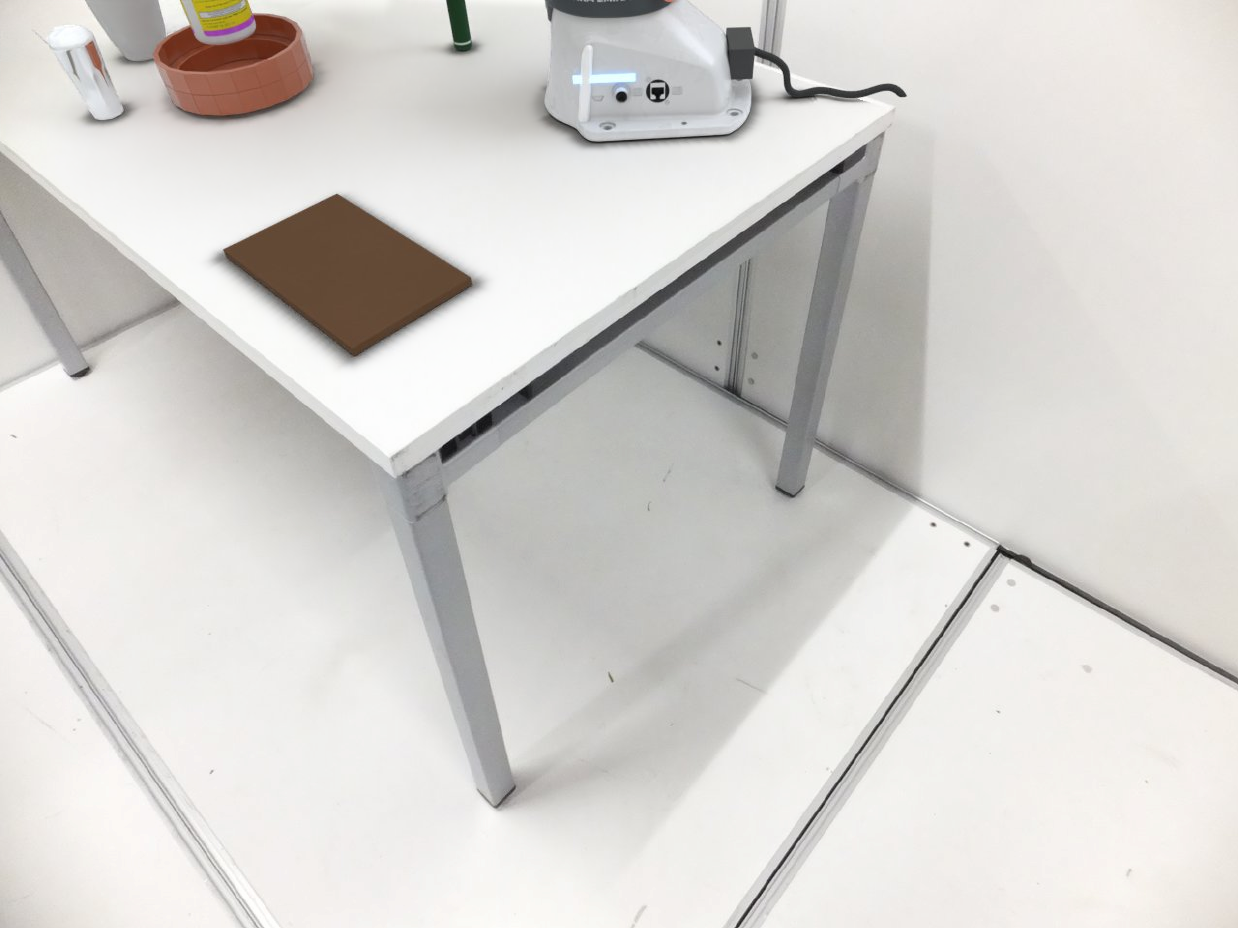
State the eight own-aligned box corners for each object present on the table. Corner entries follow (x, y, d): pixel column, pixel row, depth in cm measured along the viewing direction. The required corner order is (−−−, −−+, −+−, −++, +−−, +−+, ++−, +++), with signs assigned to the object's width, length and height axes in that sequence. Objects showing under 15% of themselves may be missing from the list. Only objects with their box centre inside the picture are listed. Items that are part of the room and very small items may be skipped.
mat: (472, 285, 70) (471, 277, 69) (354, 356, 64) (351, 348, 64) (339, 200, 79) (336, 193, 79) (226, 257, 74) (222, 249, 73)
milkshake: (72, 120, 92) (19, 25, 84) (114, 100, 95) (67, 7, 87) (96, 130, 90) (44, 34, 83) (138, 110, 93) (92, 15, 85)
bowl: (335, 58, 100) (322, 14, 96) (281, 122, 90) (264, 76, 86) (213, 54, 102) (196, 11, 98) (146, 117, 92) (124, 71, 88)
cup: (191, 39, 106) (155, -49, 98) (162, 67, 100) (122, -24, 93) (131, 38, 106) (91, -49, 99) (99, 66, 101) (54, -24, 93)
